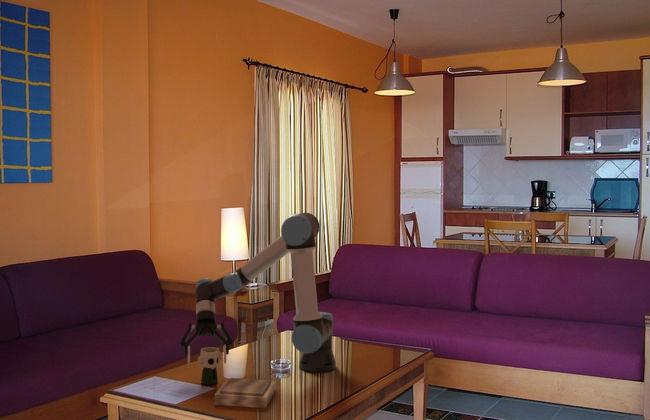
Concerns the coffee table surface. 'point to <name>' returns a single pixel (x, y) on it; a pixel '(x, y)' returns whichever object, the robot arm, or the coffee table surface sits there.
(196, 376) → the coffee table surface
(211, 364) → the character mug
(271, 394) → the birch plinth
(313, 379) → the coffee table surface
